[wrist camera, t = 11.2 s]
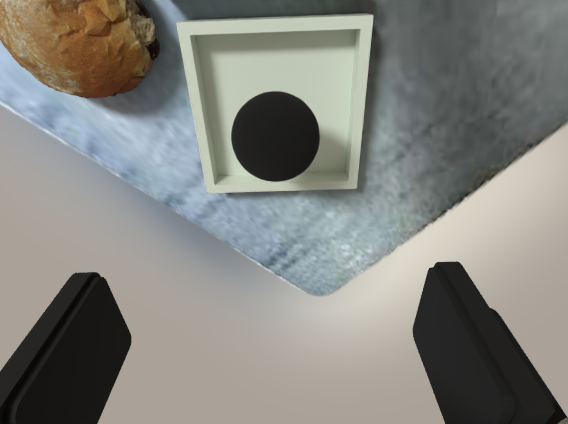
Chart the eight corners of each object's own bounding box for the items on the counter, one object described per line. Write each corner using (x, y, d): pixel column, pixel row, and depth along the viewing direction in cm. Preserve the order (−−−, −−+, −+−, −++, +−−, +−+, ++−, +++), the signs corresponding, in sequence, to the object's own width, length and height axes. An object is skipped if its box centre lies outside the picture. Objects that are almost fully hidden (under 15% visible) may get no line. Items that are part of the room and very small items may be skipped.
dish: (366, 12, 25) (373, 15, 23) (352, 176, 33) (356, 188, 31) (184, 19, 25) (176, 22, 23) (211, 180, 33) (207, 193, 31)
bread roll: (88, -69, 25) (-40, -131, 18) (190, 6, 24) (95, -28, 17) (61, 54, 30) (-49, 43, 23) (146, 122, 29) (57, 132, 22)
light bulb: (278, 154, 31) (275, 213, 22) (228, 108, 29) (204, 155, 20) (327, 107, 28) (344, 154, 20) (276, 54, 26) (272, 81, 18)
